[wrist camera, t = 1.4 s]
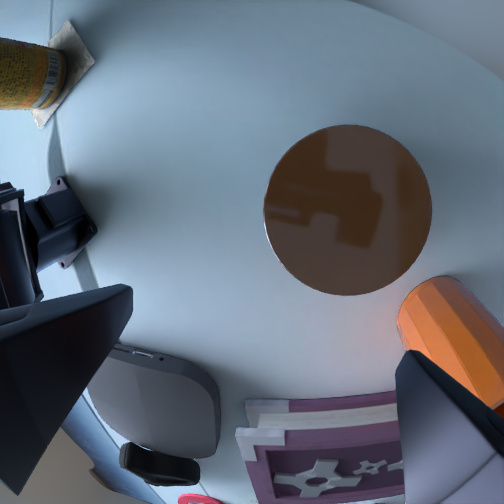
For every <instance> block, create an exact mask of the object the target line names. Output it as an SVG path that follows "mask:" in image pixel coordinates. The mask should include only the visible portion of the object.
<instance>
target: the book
mask: <svg viewBox="0 0 504 504" xmlns="http://www.w3.org/2000/svg"><path fill="white" fill-rule="evenodd" d="M244 407H245V412H246V416H247V420H248V424H249V428H238V427H237V429H236V433H235V438H236V441H237V444H238V447H239V450H240V454H241V457H242V460H244V461H245V464H246V467H247V470H248V473H249V476H250V479H251V482H252V485H253V488H254V491H255V494H256V497H257V500H258V503H259V504H337V503H348V502H357V501H365V500H372V499H379V498H385V497H391V496H396V495H401V494H405V487H404V472H403V460H402V450H401V441H400V432H399V424H398V416H397V400H396V391H391V392H384V393H377V394H369V395H360V396H350V397H339V398H326V399H309V400H289V399H279V400H264V399H246V401H245V405H244Z"/></svg>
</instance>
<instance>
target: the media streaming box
mask: <svg viewBox="0 0 504 504" xmlns="http://www.w3.org/2000/svg"><path fill="white" fill-rule="evenodd" d="M87 389H88V392H89V395H90V397H91V400H92V402H93V404H94V406H95V408H96V410H97V412H98V413H99V415H100V417H101V418H102V419H103V420H104V421H105V422H106V423H107V424H108V425H109V426H110V427H111V428H112V429H113V430H115V431H116V432H117V433H118V434H120V435H121V436H123V437H124V438H126V439H128V440H129V441H131V442H133V443H135V444H138V445H140V446H142V447H145V448H147V449H150V450H153V451H156V452H160V453H163V454H167V455H171V456H177V457H183V458H190V459H200V458H206V457H210V456H212V455H214V454H215V452H216V449H217V446H218V443H219V440H220V429H221V412H220V397H219V389H218V386H217V384H216V382H215V381H214V380H213V378H212V377H211V376H210V375H209V374H208V373H207V372H206V371H204V370H203V369H202V368H200V367H199V366H197V365H195V364H193V363H191V362H188V361H185V360H181V359H177V358H173V357H169V356H165V355H161V354H157V353H153V352H149V351H145V350H141V349H137V348H133V347H129V346H124V345H120V344H115V346H114V348H113V349H112V351H111V352H110V354H109V355H108V357H107V358H106V359H105V361H104V362H103V364H102V365H101V367H100V368H99V369H98V371H97V372H96V374H95V375H94V377H93V378H92V380H91V381H90V382H89V384H88V385H87Z"/></svg>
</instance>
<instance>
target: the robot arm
mask: <svg viewBox="0 0 504 504" xmlns="http://www.w3.org/2000/svg"><path fill="white" fill-rule="evenodd" d="M60 181H61V184H60ZM23 196H24V189H20V190H16V188H13V186H12V185H11V183H10V182H6V183H2V184H0V482H1V483H2V484H3V485H5V486H6V487H7V488H8V489H9V490H11V491H12V492H13V493H15V494H16V495H17V496H18V495H19V494H20V492H21V491H22V489H23V487H24V486H25V484H26V482H27V480H28V479H29V477H30V475H31V473H32V472H33V470H34V468H35V467H36V465H37V463H38V462H39V460H40V458H41V457H42V455H43V454H44V452H45V450H46V449H47V446H48V445H49V444H50V442H51V440H52V439H53V437H54V435H55V434H56V432H57V431H58V429H59V428H60V426H61V425H62V423H63V421H64V420H65V418H66V417H67V415H68V414H69V412H70V411H71V409H72V408H73V406H74V405H75V403H76V402H77V400H78V399H79V397H80V396H81V394H82V393H83V391H84V390H85V388H86V387H87V385H88V384H89V382H90V381H91V380H92V378H93V377H94V375H95V374H96V372H97V371H98V369H99V368H100V367H101V365H102V364H103V362H104V361H105V359H106V358H107V357H108V355H109V354H110V352H111V351H112V349H113V348H114V346H115V344H116V342H117V341H118V339H119V337H120V335H121V333H122V332H123V330H124V328H125V326H126V324H127V323H128V321H129V319H130V317H131V315H132V312H133V289H132V288H131V287H130V286H128V285H124V284H116V285H112V286H108V287H103V288H99V289H94V290H90V291H86V292H81V293H77V294H72V295H68V296H64V297H59V298H55V299H50V300H46V301H42V302H40V301H41V300H42V299H43V297H44V295H43V291H42V290H41V288H40V284H39V280H38V276H37V273H38V272H40V271H41V270H43V269H45V268H46V267H48V266H50V265H52V264H53V263H55V262H58V264H59V265H60V267H61V268H62V269H66V268H68V267H69V266H70V265H71V263H72V262H73V261H74V260H75V259H76V257H77V256H78V255H79V254H80V253H81V252H82V250H83V249H84V248H85V247H86V246H87V245H88V244H89V242H90V241H91V240H92V239H93V238H94V237H95V236H96V235H97V233H98V228H97V226H96V225H95V223H94V222H93V220H92V219H91V218H90V216H89V215H88V213H87V212H86V210H85V209H84V207H83V206H82V204H81V203H80V201H79V200H78V198H77V197H76V195H75V194H74V192H73V191H72V189H71V188H70V186H69V184H68V183H67V181H66V180H65V178H64V177H63V176H60V177H57V178H56V179H55V181H54V182H53V184H52V185H51V187H50V188H49V190H48V191H47V193H46V194H45V195H43V196H40V197H38V198H36V199H32V200H29V201H26V202H24V197H23ZM91 228H92V229H93V232H92V230H91ZM395 380H396V400H397V416H398V424H399V432H400V441H401V450H402V460H403V472H404V487H405V504H504V419H503V418H502V417H501V416H500V415H498V414H497V413H496V412H495V411H493V410H492V409H491V408H490V407H489V406H486V404H485V403H484V402H482V401H481V400H480V399H479V398H478V397H476V396H475V395H474V394H473V393H471V392H470V391H469V390H468V389H466V388H465V387H464V386H463V385H462V384H460V383H459V382H458V381H457V380H455V379H454V378H453V377H452V376H450V375H449V374H448V373H447V372H445V371H444V370H443V369H442V368H440V367H439V366H438V365H437V364H435V363H434V362H433V361H432V360H430V359H429V358H428V357H426V356H425V355H424V354H423V353H421V352H420V351H418V350H411V349H409V350H407V351H406V352H405V354H404V356H403V358H402V360H401V362H400V363H399V365H398V367H397V369H396V373H395Z"/></svg>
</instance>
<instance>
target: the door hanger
mask: <svg viewBox="0 0 504 504" xmlns="http://www.w3.org/2000/svg"><path fill="white" fill-rule="evenodd" d="M190 502H198V503H204V504H224V503H222V502H220V501H218V500H216V499H214V498H211V497H207V496H203V495H197V494H183V495H181V496H180V497H179V498H178V504H188V503H190Z"/></svg>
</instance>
